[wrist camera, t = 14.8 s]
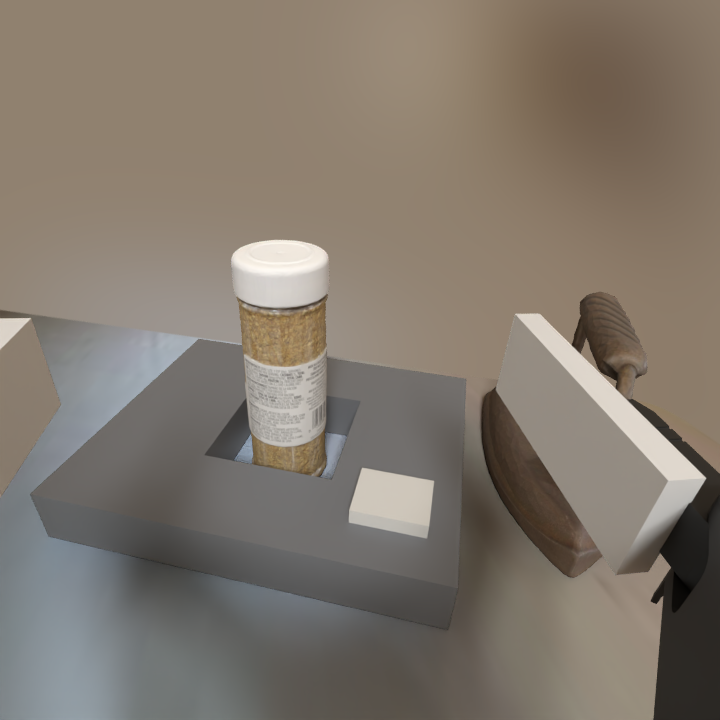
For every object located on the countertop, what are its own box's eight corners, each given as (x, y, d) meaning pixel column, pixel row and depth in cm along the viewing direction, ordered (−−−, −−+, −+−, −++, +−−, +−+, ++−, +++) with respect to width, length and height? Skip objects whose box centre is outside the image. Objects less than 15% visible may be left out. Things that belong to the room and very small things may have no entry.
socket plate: (48, 536, 24) (24, 481, 22) (203, 372, 37) (197, 329, 35) (447, 630, 21) (461, 575, 19) (459, 413, 34) (468, 369, 32)
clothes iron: (483, 403, 36) (513, 262, 30) (621, 429, 34) (682, 284, 28) (468, 555, 24) (514, 374, 18) (677, 609, 22) (800, 424, 16)
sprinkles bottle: (282, 432, 31) (272, 231, 25) (341, 457, 30) (347, 248, 23) (235, 474, 28) (208, 254, 21) (298, 505, 26) (290, 275, 19)
